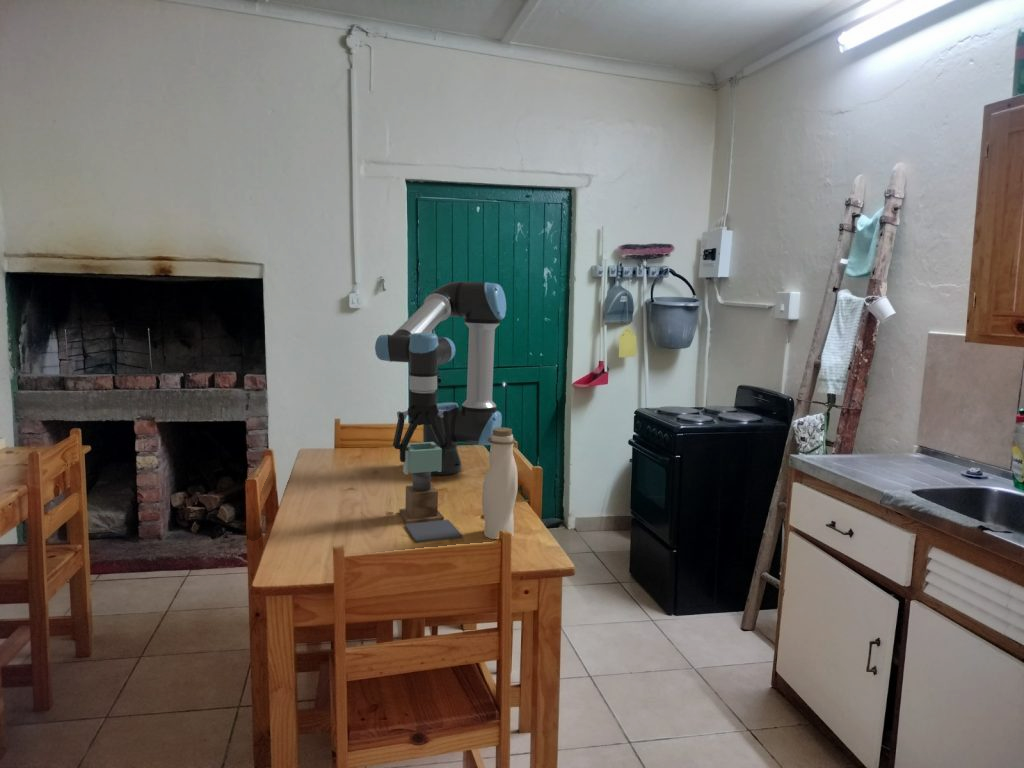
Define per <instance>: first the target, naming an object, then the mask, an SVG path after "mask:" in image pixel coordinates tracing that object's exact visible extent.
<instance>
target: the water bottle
mask: <svg viewBox="0 0 1024 768" xmlns="http://www.w3.org/2000/svg"><path fill="white" fill-rule="evenodd" d="M512 432H513V429H512V428H509V427H505V426H504V427H502V426H501V427H498V428H493V433H492V435H491V437H490V438H489V439H488V442H490V443H491V445H490V447H489V449H490V450H489V456H488V464H489V465H488V466H489V469H488V470H487V472H486V474H485V476H484V478H483V479H484V480H483V483H482V484H483V485H482V494H481V495H482V497H481V503H482V506H481V507H482V513H483V517H484V533H483V534H484V536H485V537H487V538H488V539H491V540H495V539H496V538H497V537H498V534H499V531H507V532H510V533H511V534H512V537H514V534H515V533H514V532H515V531H514V526H515V525H514V523H515V522H514V519H515V518H514V517H515V516H514V507H515V503H516V499H517V493H518V488H519V486H518V482H519V481H518V478H519V477H518V467H517V466H518V465H517V463H516V460H515V457H514V451H513V450H514V444H515V443H516V439H515V437H514V434H513V433H512Z"/></svg>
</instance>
